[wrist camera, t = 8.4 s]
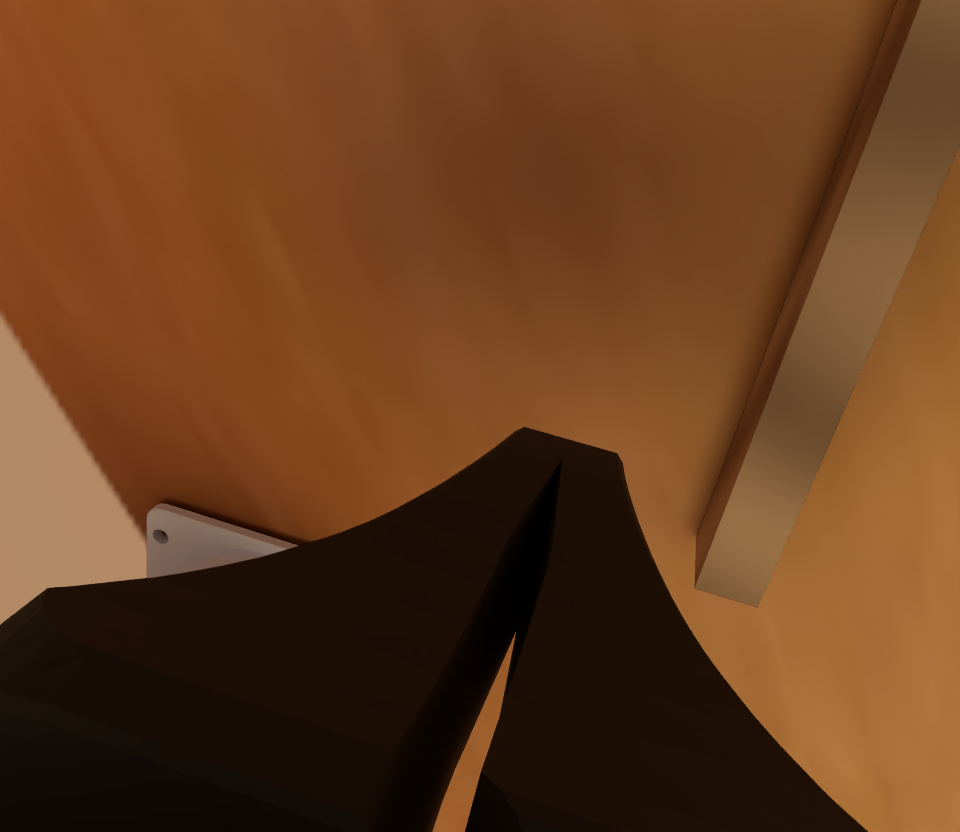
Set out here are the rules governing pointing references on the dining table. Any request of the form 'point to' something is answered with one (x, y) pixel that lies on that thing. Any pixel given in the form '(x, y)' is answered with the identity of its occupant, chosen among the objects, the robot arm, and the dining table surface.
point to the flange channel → (837, 296)
